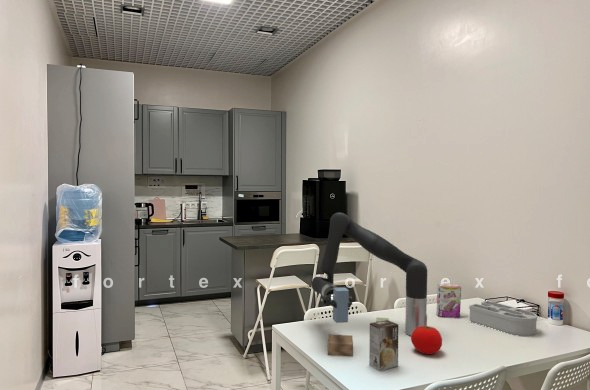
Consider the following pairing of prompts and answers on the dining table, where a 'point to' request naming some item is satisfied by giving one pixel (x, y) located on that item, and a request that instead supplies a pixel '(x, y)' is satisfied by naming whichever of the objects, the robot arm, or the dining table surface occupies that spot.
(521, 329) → the gray compartment organizer
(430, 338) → the tomato
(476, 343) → the dining table surface
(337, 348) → the walnut block
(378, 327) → the coffee box
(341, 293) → the slate block
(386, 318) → the olive block
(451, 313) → the candy bar box
